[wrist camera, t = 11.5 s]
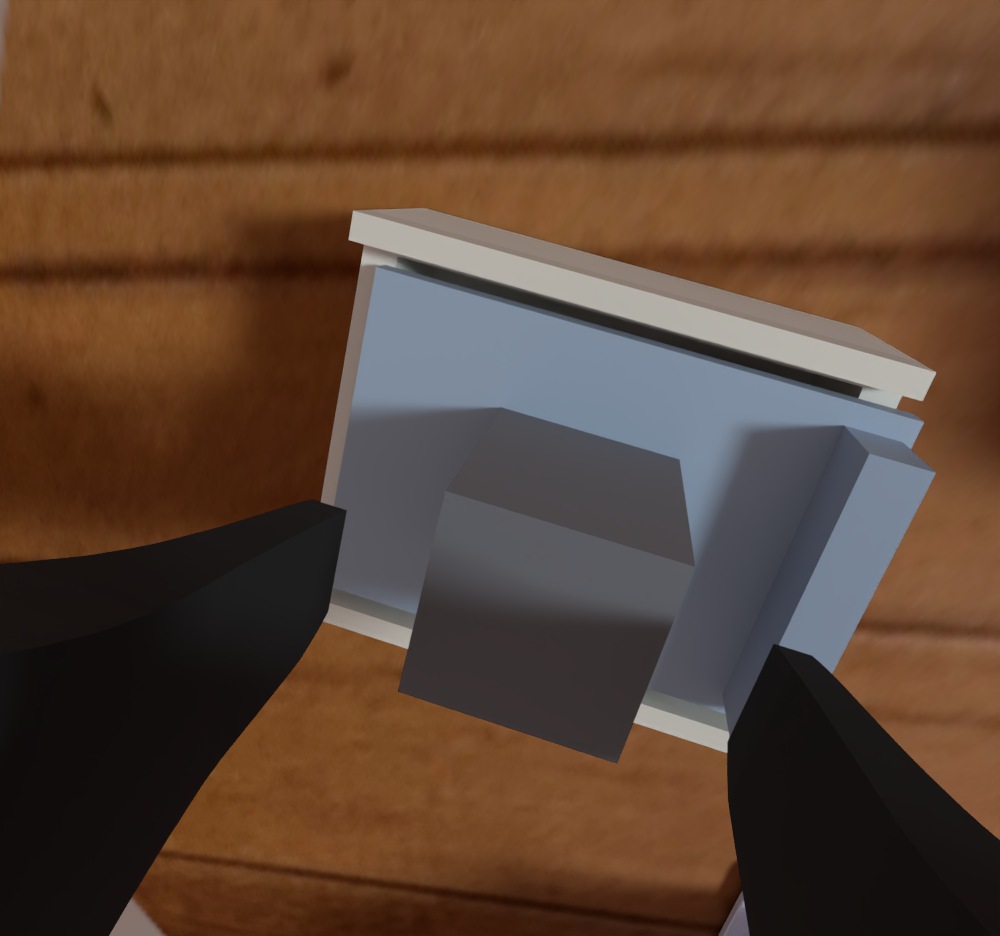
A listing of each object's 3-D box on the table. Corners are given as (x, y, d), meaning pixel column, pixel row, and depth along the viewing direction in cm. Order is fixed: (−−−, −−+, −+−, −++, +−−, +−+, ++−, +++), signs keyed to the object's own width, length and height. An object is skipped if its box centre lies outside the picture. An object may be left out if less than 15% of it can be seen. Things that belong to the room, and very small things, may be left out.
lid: (767, 712, 18) (785, 784, 16) (329, 572, 19) (288, 621, 17) (913, 414, 15) (960, 450, 13) (385, 264, 16) (344, 274, 14)
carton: (723, 637, 23) (747, 759, 18) (362, 524, 24) (289, 610, 19) (859, 327, 19) (936, 372, 14) (424, 208, 20) (353, 210, 15)
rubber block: (623, 612, 17) (617, 763, 13) (462, 561, 18) (398, 691, 13) (679, 459, 16) (695, 566, 11) (501, 407, 16) (444, 491, 11)
